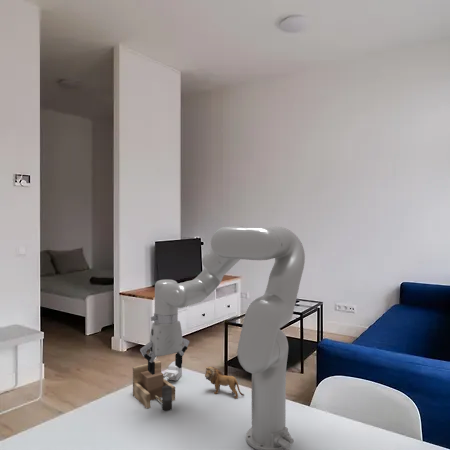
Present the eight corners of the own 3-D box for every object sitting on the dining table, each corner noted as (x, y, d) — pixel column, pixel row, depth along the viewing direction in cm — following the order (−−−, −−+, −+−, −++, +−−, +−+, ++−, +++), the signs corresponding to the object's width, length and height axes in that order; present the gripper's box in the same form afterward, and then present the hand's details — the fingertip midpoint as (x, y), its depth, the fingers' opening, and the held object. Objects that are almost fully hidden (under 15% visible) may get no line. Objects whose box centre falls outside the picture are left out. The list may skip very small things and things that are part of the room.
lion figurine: (202, 393, 142) (202, 368, 142) (208, 387, 148) (208, 363, 147) (242, 400, 138) (242, 374, 137) (246, 393, 143) (246, 368, 142)
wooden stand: (175, 400, 138) (175, 371, 137) (147, 408, 132) (146, 378, 131) (159, 387, 147) (159, 360, 147) (132, 395, 141) (132, 366, 141)
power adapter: (172, 387, 148) (172, 371, 148) (160, 386, 149) (160, 370, 149) (183, 375, 158) (183, 361, 158) (172, 374, 160) (172, 360, 160)
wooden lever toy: (177, 408, 132) (177, 384, 132) (160, 413, 128) (160, 388, 128) (156, 390, 145) (156, 368, 145) (140, 395, 141) (140, 372, 141)
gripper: (146, 324, 123) (145, 379, 123) (194, 317, 133) (193, 368, 133) (136, 319, 129) (135, 371, 129) (183, 312, 139) (182, 361, 139)
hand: (165, 369), depth 131 cm, fingers open, 9 cm apart
